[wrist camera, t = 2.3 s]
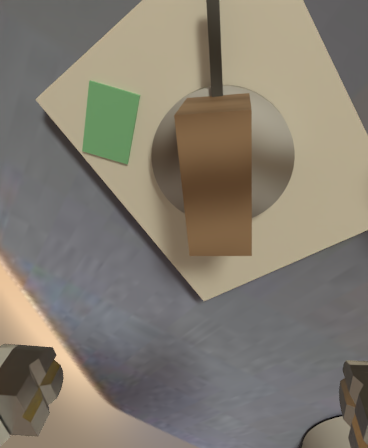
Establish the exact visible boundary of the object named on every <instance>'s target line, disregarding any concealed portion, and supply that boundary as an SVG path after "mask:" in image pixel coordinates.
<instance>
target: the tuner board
mask: <svg viewBox="0 0 368 448" xmlns="http://www.w3.org/2000/svg"><path fill="white" fill-rule="evenodd" d="M219 6H220V31H221V56H222V81H223V85H234V86H240V87H244V88H247V89H250V90H252V91H254V92H257V93H258V94H260V95H262V96H263V97H265V98H266V99H267V100H269V101H270V102H271V103H272V104H273V105H274V106H275V107H276V108H277V109H278V110H279V112H280V113H281V115H282V116H283V118H284V119H285V121H286V123H287V126H288V128H289V130H290V132H291V135H292V139H293V143H294V150H295V160H294V168H293V172H292V175H291V178H290V181H289V183H288V185H287V187H286V189H285V190H284V192H283V194H282V195H281V196H280V197H279V199H278V200H277V201H276V202H275V203H274V204H273V205H272V206H271V207H269V208H268V209H267V210H266V211H264V212H263V213H261V214H259V215H258V216H256V217H253V218H252V256H189V247H188V238H187V229H186V219H185V214H184V213H183V212H181V211H180V210H178V209H177V208H176V207H175V206H174V205H173V204H171V203H170V201H169V200H168V199H167V198H166V197H165V196H164V194H163V193H162V191H161V190H160V188H159V186H158V184H157V182H156V179H155V176H154V173H153V168H152V160H151V152H152V144H153V139H154V136H155V133H156V130H157V128H158V126H159V124H160V122H161V121H162V119H163V118H164V116H165V115H166V114H167V112H168V111H169V110H170V109H171V108H172V107H173V106H174V105H175V104H176V103H177V102H178V101H179V100H181V99H182V98H183V97H185V96H186V95H188V94H190V93H192V92H194V91H196V90H198V89H201V88H205V87H208V86H211V76H210V58H209V40H208V22H207V4H206V0H142V1H141V2H140V3H139V4H138V5H137V6H136V7H135V8H134V9H133V10H132V11H130V12H129V13H128V14H127V15H126V16H125V17H124V18H123V19H122V20H121V21H120V22H119V23H117V24H116V25H115V26H114V27H113V28H112V29H111V30H110V31H109V32H108V33H107V34H106V35H105V36H103V37H102V38H101V39H100V40H99V41H98V42H97V43H96V44H95V45H94V46H93V47H92V48H90V49H89V50H88V51H87V52H86V53H85V54H84V55H83V56H82V57H81V58H80V59H79V60H77V61H76V62H75V63H74V64H73V65H72V66H71V67H70V68H69V69H68V70H67V71H66V72H65V73H63V74H62V75H61V76H60V77H59V78H58V79H57V80H56V81H55V82H54V83H53V84H52V85H50V86H49V87H48V88H47V89H46V90H45V91H44V92H43V93H42V94H41V95H40V96H39V97H38V98H36V101H37V102H38V103H39V104H40V105H41V107H42V108H43V109H44V110H45V111H46V113H47V114H48V115H49V116H50V117H51V119H52V120H53V121H54V122H55V123H56V125H57V126H58V127H59V128H60V129H61V131H62V132H63V133H64V134H65V135H66V137H67V138H68V139H69V140H70V141H71V143H72V144H73V145H74V146H75V147H76V149H77V150H78V151H79V152H80V153H81V155H82V156H83V157H84V158H85V159H86V161H87V162H88V163H89V164H90V165H91V167H92V168H93V169H94V170H95V171H96V173H97V174H98V175H99V176H100V177H101V179H102V180H103V181H104V182H105V183H106V185H107V186H108V187H109V188H110V189H111V191H112V192H113V193H114V194H115V195H116V197H117V198H118V199H119V200H120V201H121V203H122V204H123V205H124V206H125V207H126V209H127V210H128V211H129V212H130V213H131V215H132V216H133V217H134V218H135V219H136V221H137V222H138V223H139V224H140V225H141V227H142V228H143V229H144V230H145V231H146V233H147V234H148V235H149V236H150V237H151V239H152V240H153V241H154V242H155V243H156V245H157V246H158V247H159V248H160V249H161V251H162V252H163V253H164V254H165V255H166V257H167V258H168V259H169V260H170V261H171V263H172V264H173V265H174V266H175V267H176V269H177V270H178V271H179V272H180V273H181V275H182V276H183V277H184V278H185V279H186V281H187V282H188V283H189V284H190V285H191V287H192V288H193V289H194V290H195V291H196V293H197V294H198V295H199V296H200V297H201V298H202V300H203V301H206V300H208V299H210V298H212V297H215V296H217V295H219V294H222V293H224V292H226V291H229V290H231V289H233V288H235V287H238V286H240V285H242V284H245V283H247V282H249V281H252V280H254V279H256V278H258V277H261V276H263V275H265V274H268V273H270V272H272V271H275V270H277V269H279V268H281V267H284V266H286V265H288V264H291V263H293V262H295V261H297V260H300V259H302V258H304V257H307V256H309V255H311V254H314V253H316V252H318V251H320V250H323V249H325V248H327V247H330V246H332V245H334V244H337V243H339V242H341V241H343V240H346V239H348V238H350V237H353V236H355V235H357V234H360V233H362V232H364V231H366V230H368V135H367V133H366V131H365V129H364V127H363V125H362V123H361V121H360V119H359V116H358V114H357V112H356V110H355V108H354V106H353V104H352V102H351V100H350V98H349V96H348V94H347V91H346V89H345V87H344V85H343V83H342V81H341V79H340V77H339V75H338V73H337V71H336V68H335V66H334V64H333V62H332V60H331V58H330V56H329V54H328V52H327V50H326V48H325V46H324V43H323V41H322V39H321V37H320V35H319V33H318V31H317V29H316V27H315V25H314V23H313V20H312V18H311V16H310V14H309V12H308V10H307V8H306V6H305V4H304V2H303V0H219Z"/></svg>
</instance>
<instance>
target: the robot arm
mask: <svg viewBox="0 0 368 448" xmlns="http://www.w3.org/2000/svg"><path fill="white" fill-rule="evenodd" d="M55 357H56V353H55V351H54V350H53V348H52V347H39V346H27V345H11V344H3V345H1V346H0V446H1V445H2V444H3V443H4V442H5V441H6V440H7V439H8V438H9V437H10V435H25V436H39V433H40V431H41V430H42V427H43V426H44V423H45V421H46V419H47V417H48V415H49V407H48V405H49V404H50V403H52V402H53V401H54V400H55V399H56V398H57V397H58V395H59V392H60V390H61V387H62V382H63V370H62V368H61V365H59V364H58V363H57V362H56V361H55V360H54V358H55ZM343 374H344V377H345V378H344V379H343V380H341V381H340V386H339V401H340V407H341V412H342V416H341V417H337V418H333V419H330V420H327V421H325V422H322V423H320V424H318V425H317V426H315V427H314V428H312V429H311V430H310V431H309V432H308V433H307V434H306V436H305V438H304V440H303V444H302V447H301V448H368V361H345V362H344V365H343Z"/></svg>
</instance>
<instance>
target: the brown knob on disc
mask: <svg viewBox="0 0 368 448" xmlns="http://www.w3.org/2000/svg"><path fill="white" fill-rule="evenodd" d="M206 4H207V22H208V40H209V58H210V76H211V86H208V87H205V88H201V89H198V90H196V91H194V92H192V93H190V94H188V95H186V96H185V97H183V98H182V99H181V100H179V101H178V102H177V103H176V104H175V105H174V106H173V107H172V108H171V109H170V110H169V111H168V112H167V114H166V115H165V116H164V118H163V119H162V121H161V122H160V124H159V126H158V128H157V130H156V133H155V136H154V139H153V144H152V152H151V160H152V168H153V173H154V176H155V179H156V182H157V184H158V186H159V188H160V190H161V191H162V193H163V194H164V196H165V197H166V198H167V199H168V200H169V201H170V203H171V204H173V205H174V206H175V207H176V208H177V209H178V210H180V211H181V212H183V213H184V214H185V219H186V229H187V238H188V247H189V256H252V218H253V217H256V216H258V215H259V214H261V213H263V212H264V211H266V210H267V209H268V208H269V207H271V206H272V205H273V204H274V203H275V202H276V201H277V200H278V199H279V197H280V196H281V195H282V194H283V192H284V190H285V189H286V187H287V185H288V183H289V181H290V178H291V175H292V172H293V168H294V160H295V150H294V143H293V139H292V135H291V132H290V130H289V128H288V126H287V123H286V121H285V119H284V118H283V116H282V115H281V113H280V112H279V110H278V109H277V108H276V107H275V106H274V105H273V104H272V103H271V102H270V101H269V100H267V99H266V98H265V97H263V96H262V95H260V94H258V93H257V92H254V91H252V90H250V89H247V88H244V87H240V86H234V85H223V81H222V56H221V31H220V6H219V0H206Z"/></svg>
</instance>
